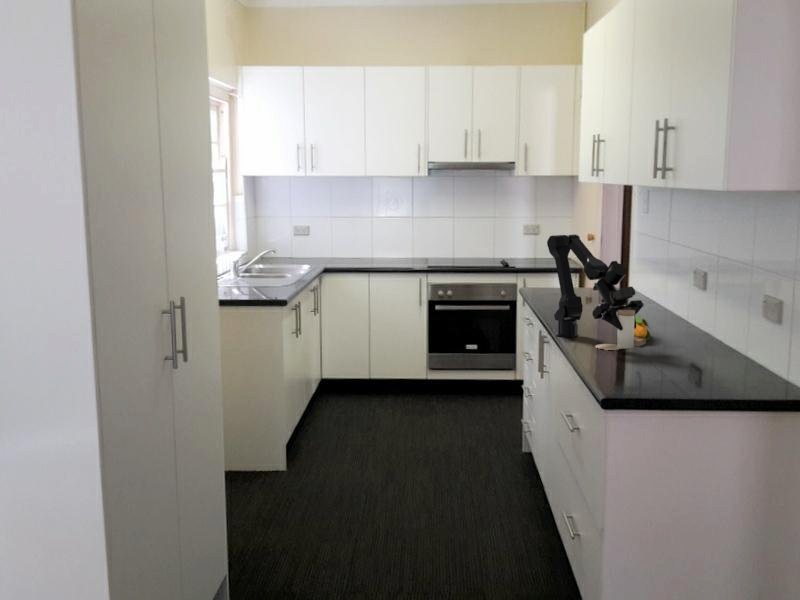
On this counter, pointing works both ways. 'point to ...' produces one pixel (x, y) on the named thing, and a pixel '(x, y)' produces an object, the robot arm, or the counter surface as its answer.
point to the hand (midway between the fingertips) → (628, 328)
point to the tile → (639, 341)
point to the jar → (626, 328)
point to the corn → (641, 329)
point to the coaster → (607, 347)
